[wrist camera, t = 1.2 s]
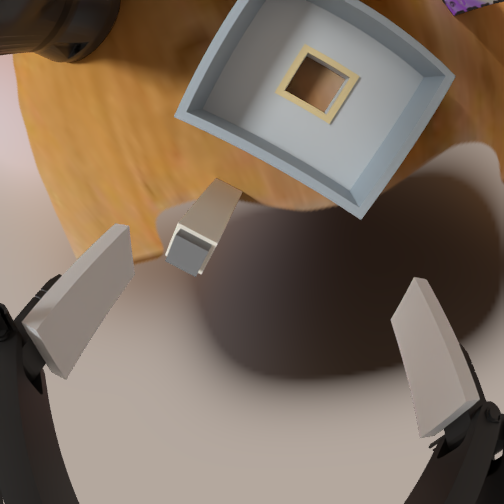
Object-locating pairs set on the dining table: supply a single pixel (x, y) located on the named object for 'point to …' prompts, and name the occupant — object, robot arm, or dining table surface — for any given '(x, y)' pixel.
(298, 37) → the walled box
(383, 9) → the dining table surface
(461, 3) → the candy box
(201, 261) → the connector
